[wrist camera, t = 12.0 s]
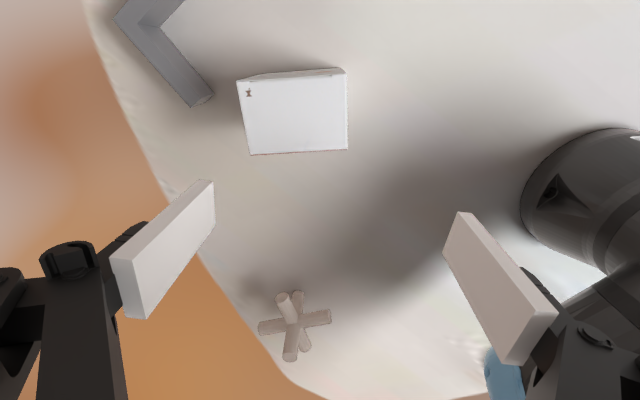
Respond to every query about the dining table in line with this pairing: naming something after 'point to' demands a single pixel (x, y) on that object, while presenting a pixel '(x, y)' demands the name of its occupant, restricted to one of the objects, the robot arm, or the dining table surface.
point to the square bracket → (161, 46)
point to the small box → (295, 111)
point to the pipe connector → (294, 324)
